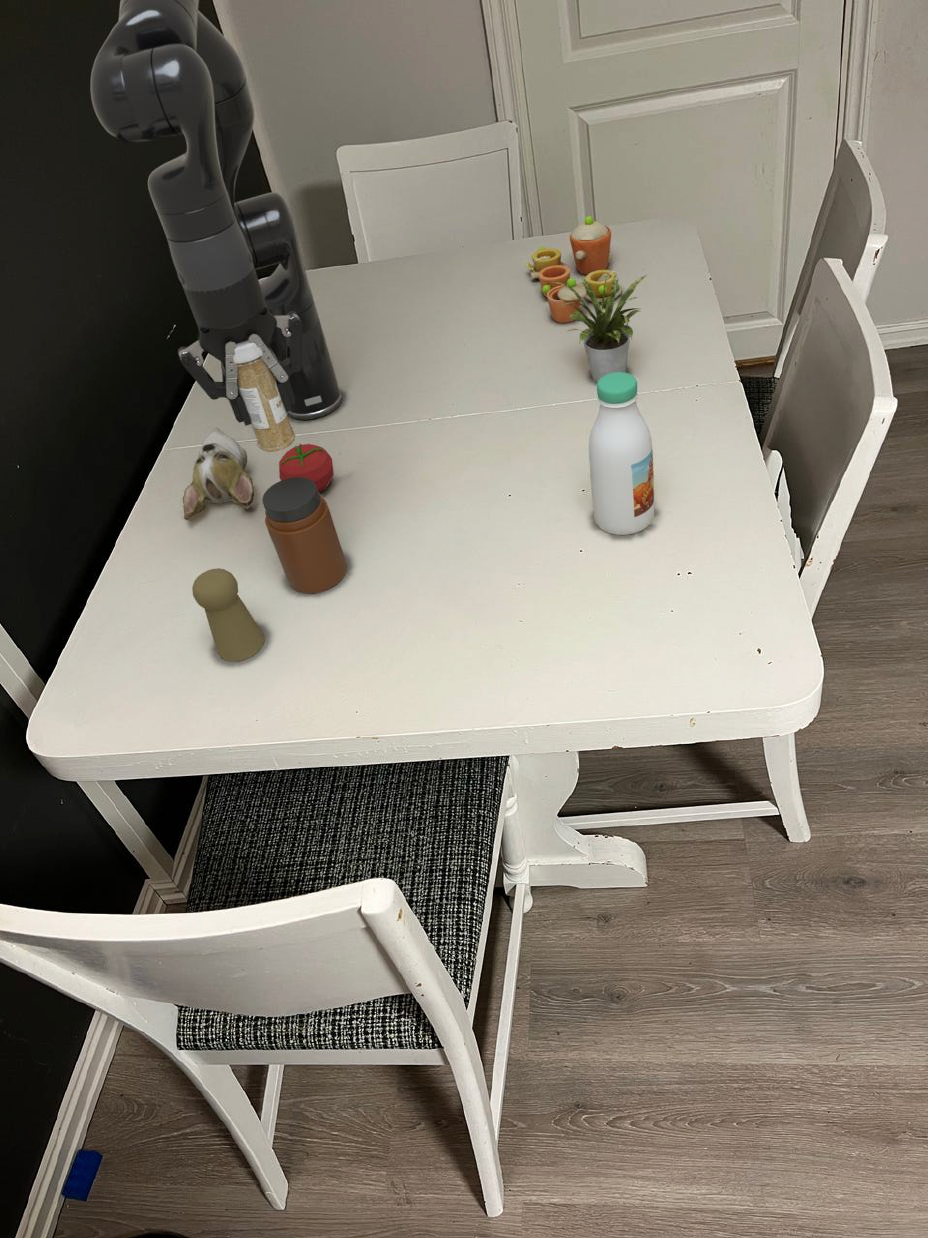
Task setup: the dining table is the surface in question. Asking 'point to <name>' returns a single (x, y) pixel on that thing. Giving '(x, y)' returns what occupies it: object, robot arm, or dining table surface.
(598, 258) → the toy tea set
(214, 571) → the cork
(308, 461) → the tomato
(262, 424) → the spice jar
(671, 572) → the dining table surface
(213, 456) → the ceramic sculpture
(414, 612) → the dining table surface
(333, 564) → the amber bottle
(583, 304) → the house plant
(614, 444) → the milk bottle
